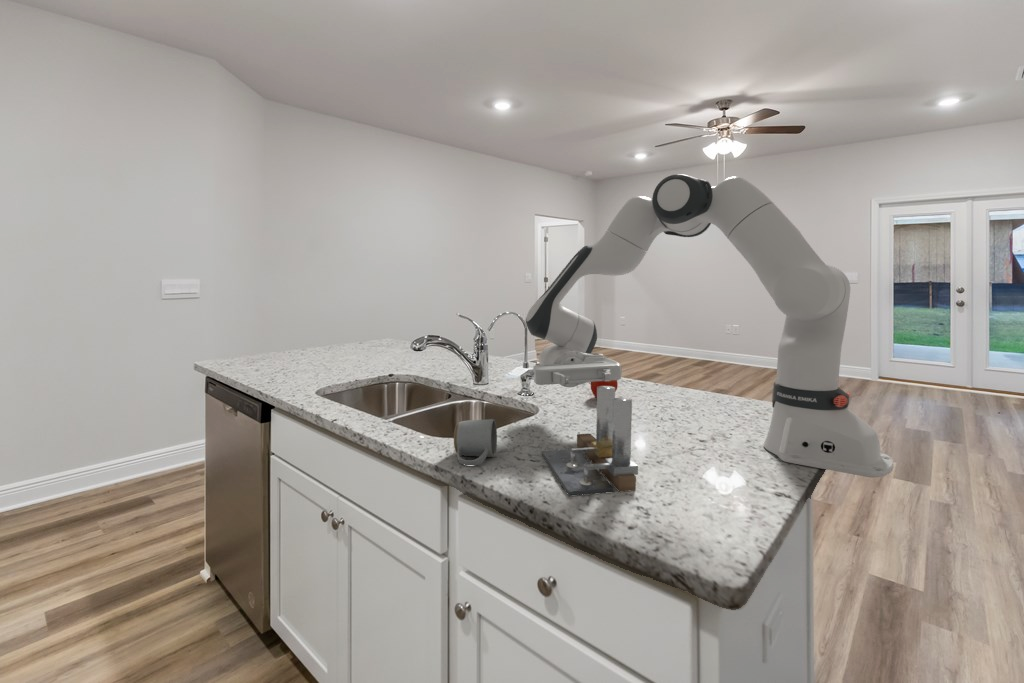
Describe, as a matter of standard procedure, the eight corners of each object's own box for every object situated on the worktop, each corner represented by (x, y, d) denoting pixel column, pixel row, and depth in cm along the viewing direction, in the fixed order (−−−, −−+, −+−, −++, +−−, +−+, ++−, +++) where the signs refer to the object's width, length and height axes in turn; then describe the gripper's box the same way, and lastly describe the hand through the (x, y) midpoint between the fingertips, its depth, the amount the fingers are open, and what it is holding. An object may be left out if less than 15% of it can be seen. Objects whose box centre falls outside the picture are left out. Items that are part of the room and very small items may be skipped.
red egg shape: (622, 401, 146) (623, 365, 145) (596, 402, 145) (597, 366, 143) (610, 394, 154) (611, 360, 153) (586, 396, 153) (586, 362, 151)
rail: (576, 445, 109) (577, 434, 108) (589, 444, 109) (590, 433, 109) (619, 491, 85) (619, 478, 85) (635, 490, 86) (635, 476, 85)
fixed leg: (579, 475, 89) (580, 398, 87) (627, 471, 91) (629, 396, 89) (587, 485, 85) (589, 404, 83) (637, 481, 86) (639, 402, 84)
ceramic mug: (460, 448, 107) (459, 414, 106) (497, 449, 106) (497, 414, 105) (449, 467, 97) (448, 430, 96) (490, 469, 96) (489, 431, 95)
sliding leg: (567, 459, 97) (567, 386, 95) (610, 455, 98) (611, 384, 96) (574, 467, 93) (574, 392, 91) (618, 464, 94) (620, 389, 92)
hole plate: (541, 454, 103) (541, 450, 103) (578, 451, 104) (578, 447, 104) (569, 496, 84) (569, 490, 83) (613, 492, 85) (613, 487, 85)
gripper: (526, 357, 117) (539, 367, 103) (608, 353, 120) (631, 361, 107) (526, 383, 118) (540, 396, 104) (608, 378, 121) (631, 390, 108)
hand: (587, 378), depth 106 cm, fingers open, 8 cm apart
